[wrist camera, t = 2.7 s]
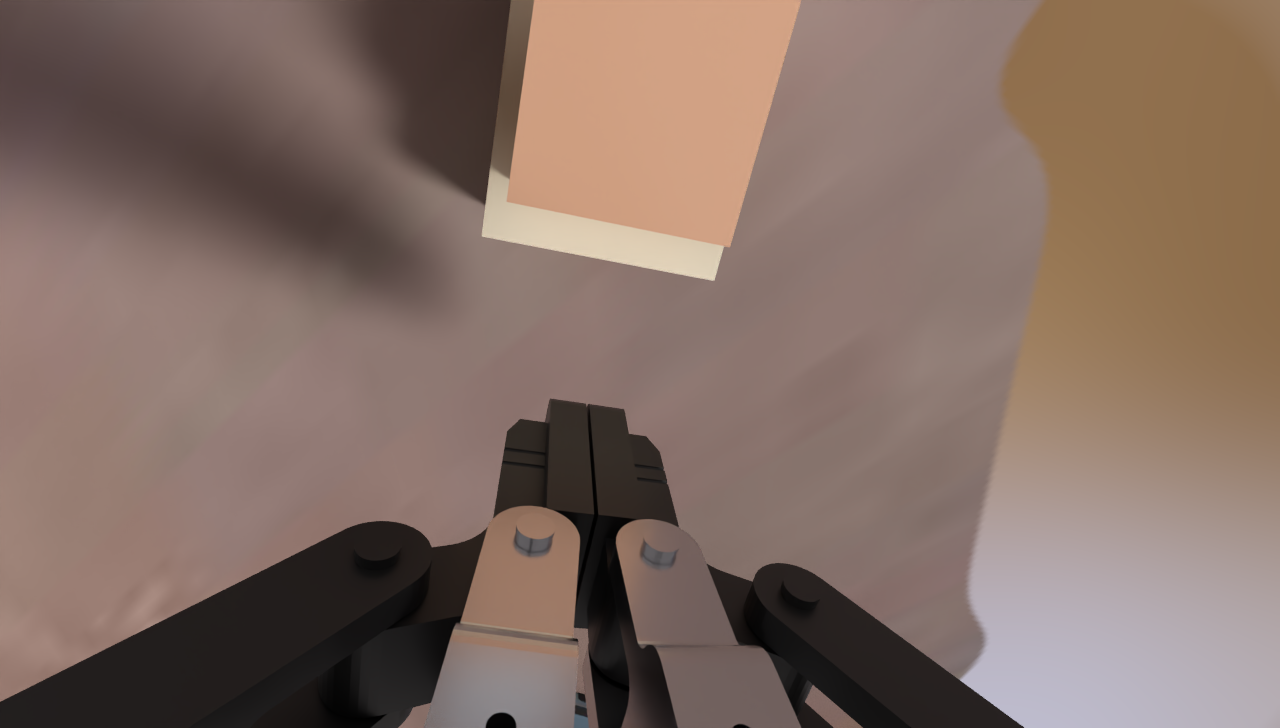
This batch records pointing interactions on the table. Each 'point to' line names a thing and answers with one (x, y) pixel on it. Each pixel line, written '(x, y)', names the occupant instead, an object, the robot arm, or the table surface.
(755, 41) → the tile
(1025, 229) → the table surface
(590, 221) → the deck
